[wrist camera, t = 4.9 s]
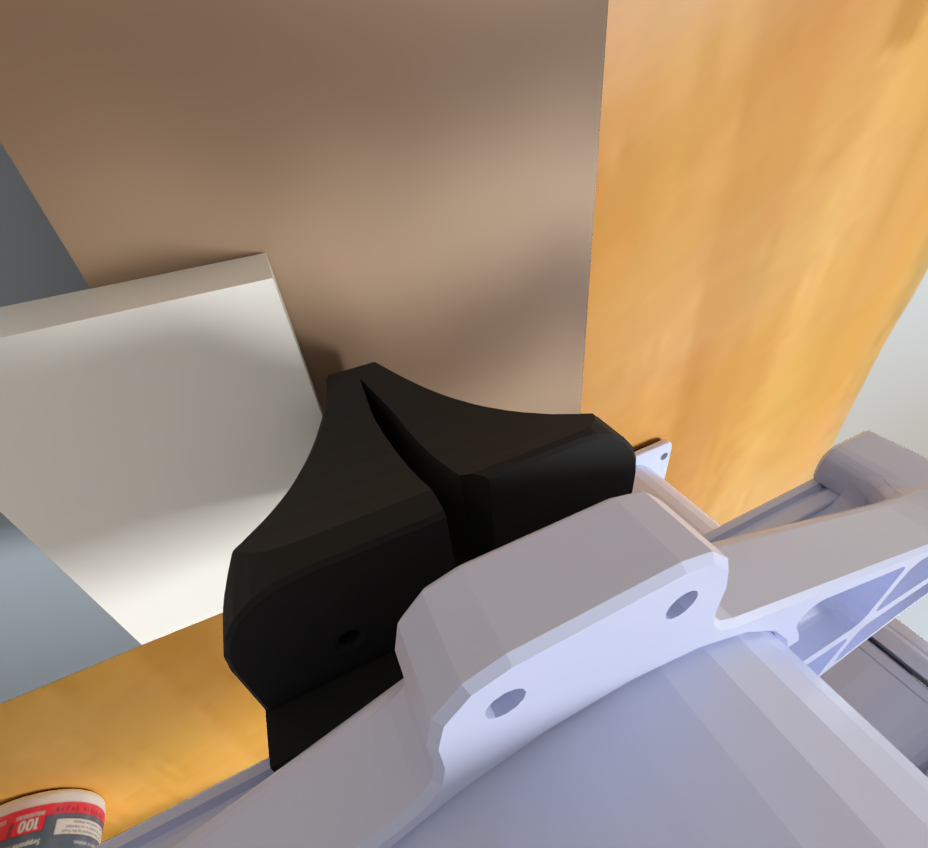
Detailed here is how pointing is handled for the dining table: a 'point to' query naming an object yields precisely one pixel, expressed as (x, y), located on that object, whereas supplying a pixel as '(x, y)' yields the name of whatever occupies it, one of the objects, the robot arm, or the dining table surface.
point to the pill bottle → (53, 820)
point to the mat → (3, 545)
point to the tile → (153, 433)
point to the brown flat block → (334, 168)
